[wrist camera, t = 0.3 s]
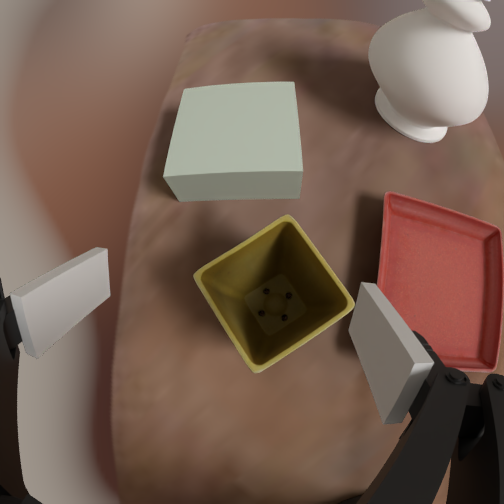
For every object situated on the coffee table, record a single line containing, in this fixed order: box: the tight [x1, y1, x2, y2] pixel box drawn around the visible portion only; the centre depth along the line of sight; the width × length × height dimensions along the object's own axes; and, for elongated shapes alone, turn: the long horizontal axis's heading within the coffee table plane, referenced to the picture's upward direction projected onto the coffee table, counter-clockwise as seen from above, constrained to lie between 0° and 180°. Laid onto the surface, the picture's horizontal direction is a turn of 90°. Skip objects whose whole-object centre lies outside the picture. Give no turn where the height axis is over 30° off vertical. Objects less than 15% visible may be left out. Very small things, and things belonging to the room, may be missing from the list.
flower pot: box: [193, 215, 355, 373], centre depth 24 cm, size 9×9×9 cm
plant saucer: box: [377, 191, 504, 372], centre depth 26 cm, size 18×18×3 cm
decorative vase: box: [368, 0, 491, 143], centre depth 23 cm, size 18×18×25 cm
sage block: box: [163, 82, 303, 202], centre depth 32 cm, size 14×14×6 cm
